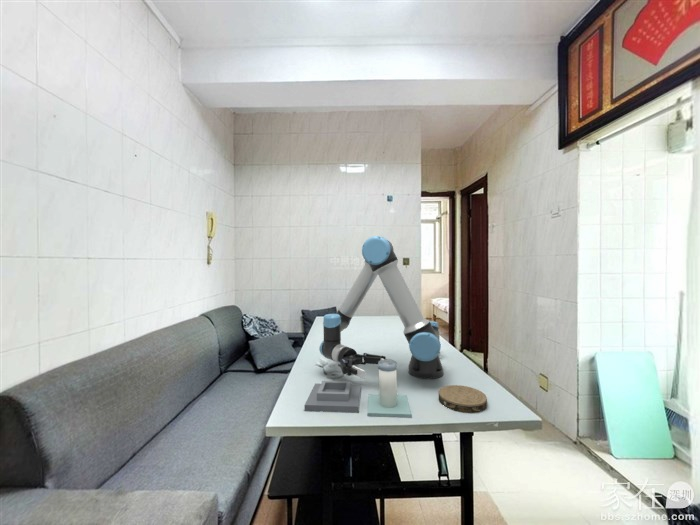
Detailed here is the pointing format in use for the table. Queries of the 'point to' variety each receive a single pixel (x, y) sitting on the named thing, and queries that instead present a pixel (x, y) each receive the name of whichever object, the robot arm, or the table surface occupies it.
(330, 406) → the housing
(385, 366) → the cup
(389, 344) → the table surface
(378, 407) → the mat
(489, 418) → the table surface
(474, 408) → the wood slice coaster
